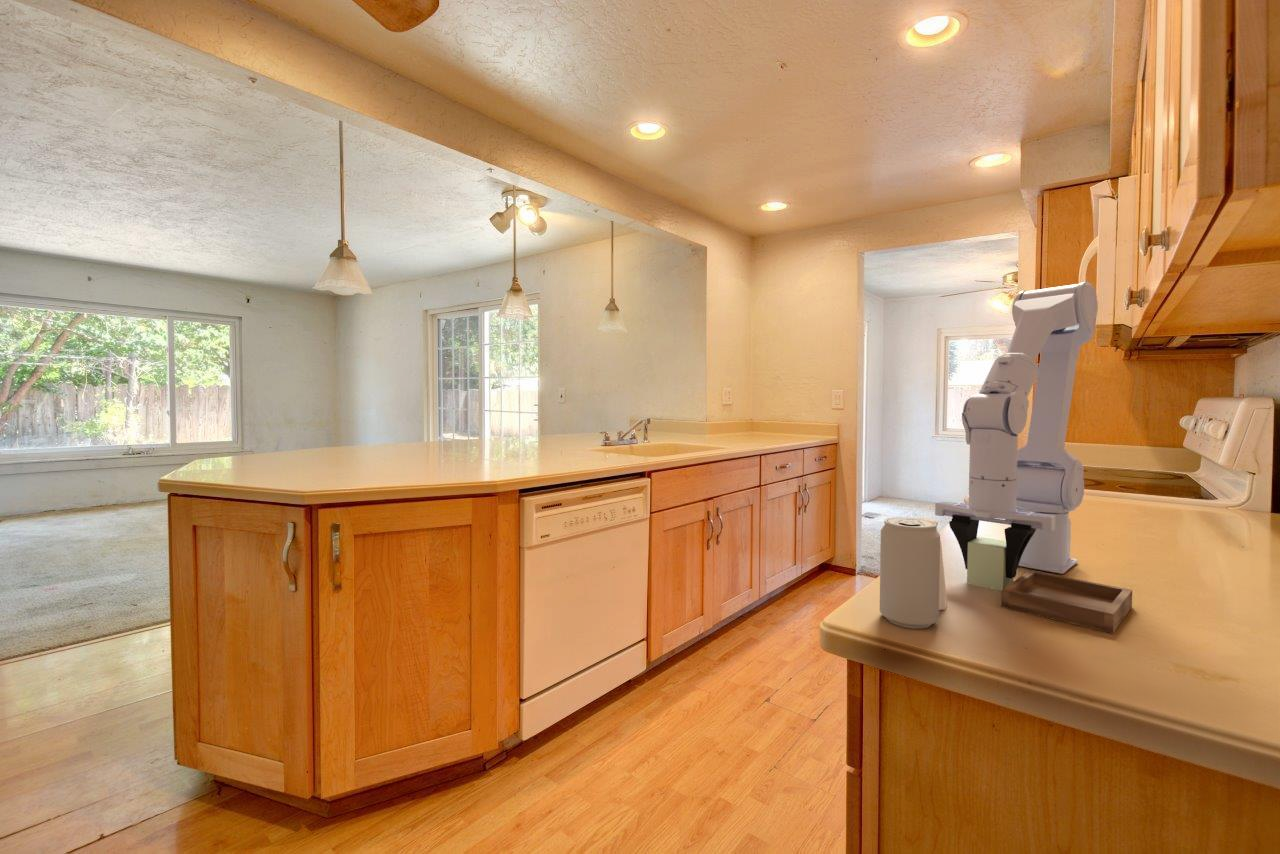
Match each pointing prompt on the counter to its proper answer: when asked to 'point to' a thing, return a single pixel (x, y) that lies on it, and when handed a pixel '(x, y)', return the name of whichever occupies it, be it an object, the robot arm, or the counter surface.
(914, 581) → the beverage can
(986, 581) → the sage block
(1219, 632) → the counter surface
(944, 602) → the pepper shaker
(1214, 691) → the counter surface
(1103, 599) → the walnut tray
